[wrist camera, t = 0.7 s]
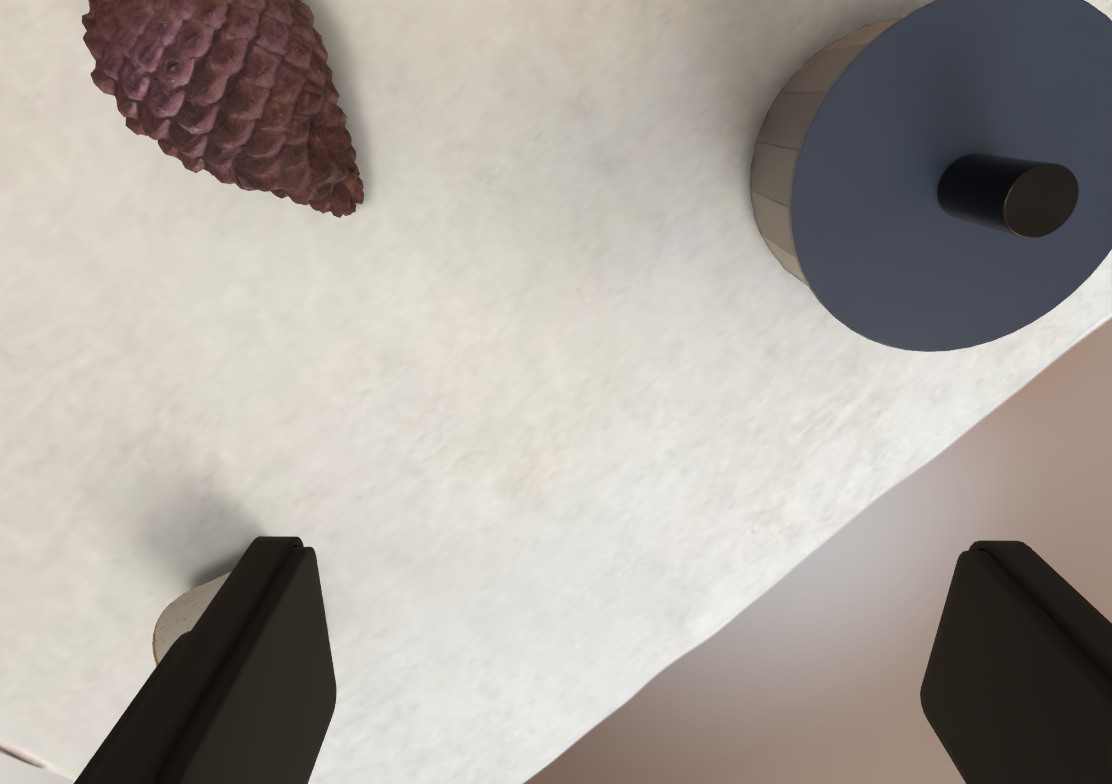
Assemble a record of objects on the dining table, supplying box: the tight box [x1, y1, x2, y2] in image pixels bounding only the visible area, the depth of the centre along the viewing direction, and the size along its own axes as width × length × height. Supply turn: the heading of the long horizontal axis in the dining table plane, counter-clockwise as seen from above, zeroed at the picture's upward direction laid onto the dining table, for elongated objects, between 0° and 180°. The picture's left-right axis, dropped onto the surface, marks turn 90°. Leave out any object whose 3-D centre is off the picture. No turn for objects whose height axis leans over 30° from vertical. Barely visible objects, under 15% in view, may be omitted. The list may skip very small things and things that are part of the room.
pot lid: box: [788, 0, 1112, 352], centre depth 29 cm, size 16×16×6 cm
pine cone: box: [82, 0, 364, 218], centre depth 33 cm, size 18×10×10 cm
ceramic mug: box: [152, 571, 232, 666], centre depth 48 cm, size 11×8×8 cm
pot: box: [750, 17, 902, 286], centre depth 35 cm, size 15×15×8 cm
